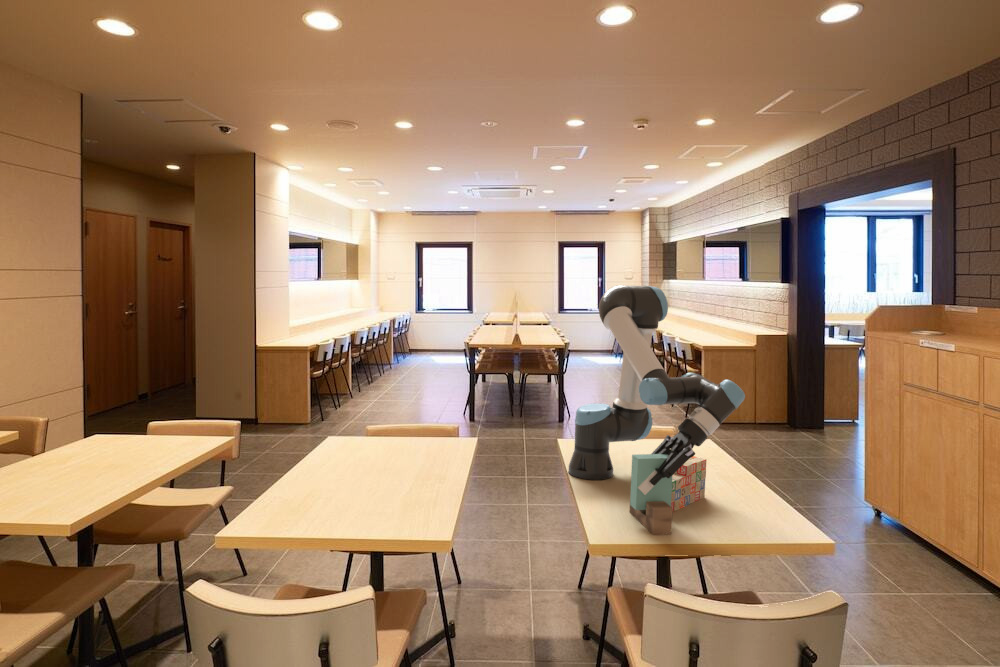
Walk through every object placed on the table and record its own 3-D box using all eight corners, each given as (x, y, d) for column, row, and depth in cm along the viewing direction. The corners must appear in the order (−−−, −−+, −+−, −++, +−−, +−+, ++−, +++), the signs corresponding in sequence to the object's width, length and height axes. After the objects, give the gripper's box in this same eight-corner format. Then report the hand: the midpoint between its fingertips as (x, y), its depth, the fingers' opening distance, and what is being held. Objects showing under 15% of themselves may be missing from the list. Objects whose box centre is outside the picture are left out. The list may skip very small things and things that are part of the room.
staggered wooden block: (629, 512, 175) (630, 488, 174) (646, 511, 176) (647, 487, 175) (653, 535, 159) (654, 508, 159) (671, 534, 160) (672, 507, 159)
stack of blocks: (668, 514, 174) (670, 472, 173) (649, 508, 179) (651, 466, 178) (704, 497, 189) (707, 458, 188) (686, 492, 194) (688, 454, 193)
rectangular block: (630, 504, 168) (632, 454, 167) (664, 503, 170) (666, 453, 169) (635, 510, 164) (638, 458, 163) (670, 508, 166) (673, 457, 165)
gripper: (674, 411, 175) (617, 469, 174) (704, 424, 158) (641, 489, 157) (691, 429, 177) (634, 487, 175) (722, 444, 160) (660, 509, 158)
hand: (637, 488), depth 166 cm, fingers closed on rectangular block, 4 cm apart
